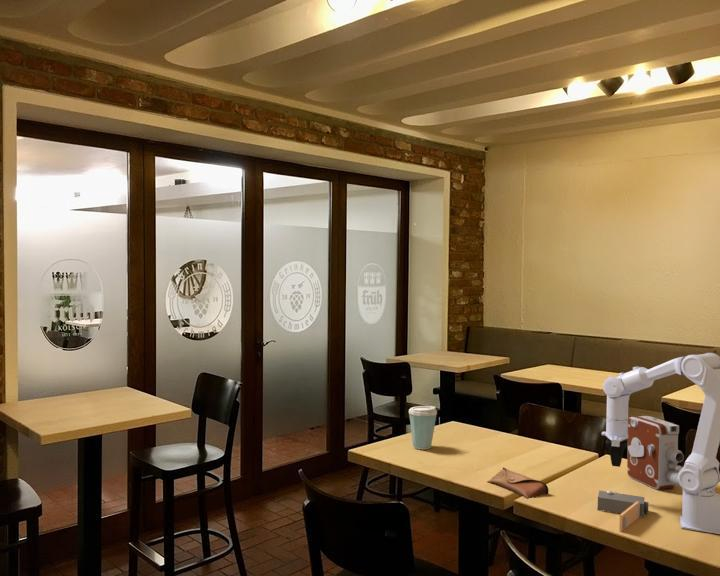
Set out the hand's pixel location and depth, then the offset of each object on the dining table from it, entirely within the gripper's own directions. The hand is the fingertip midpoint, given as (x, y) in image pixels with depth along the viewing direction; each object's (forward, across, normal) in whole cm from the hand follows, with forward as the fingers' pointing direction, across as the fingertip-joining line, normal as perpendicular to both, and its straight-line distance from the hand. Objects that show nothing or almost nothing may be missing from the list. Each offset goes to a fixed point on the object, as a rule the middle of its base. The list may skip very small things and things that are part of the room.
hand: (616, 465), depth 178 cm
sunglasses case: (+10, +4, -27) cm, 29 cm away
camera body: (+9, +9, +2) cm, 13 cm away
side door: (+9, +19, +4) cm, 21 cm away
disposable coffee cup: (+10, -25, -67) cm, 72 cm away
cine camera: (+10, -18, +11) cm, 23 cm away
